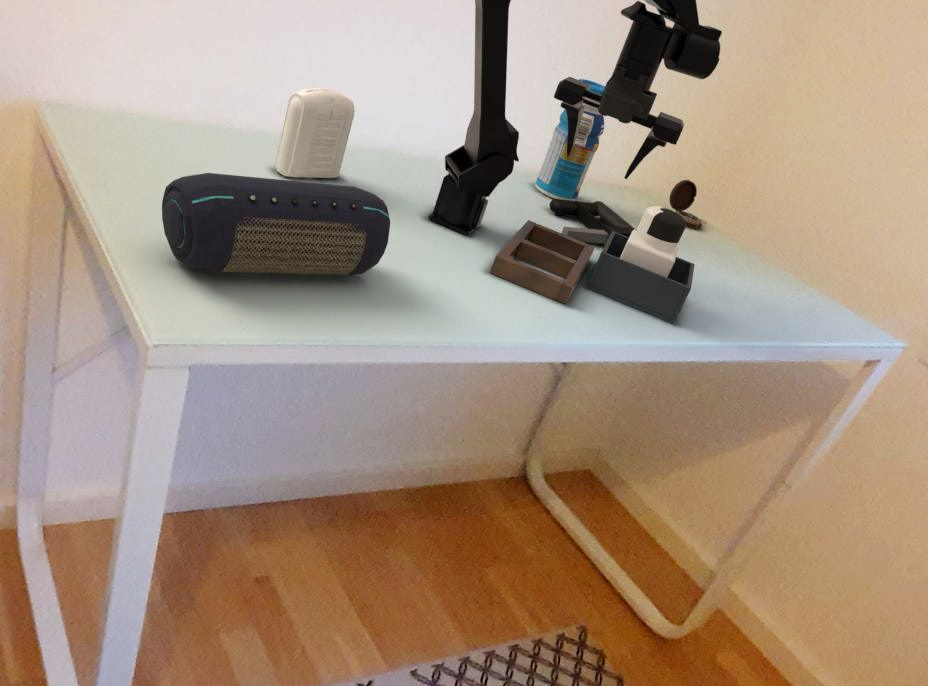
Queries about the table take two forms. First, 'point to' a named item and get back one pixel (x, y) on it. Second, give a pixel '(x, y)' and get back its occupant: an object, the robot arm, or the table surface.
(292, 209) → the portable speaker
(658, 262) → the medicine bottle
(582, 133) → the beverage bottle
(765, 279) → the table surface
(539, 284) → the frame
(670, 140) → the robot arm
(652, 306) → the tote
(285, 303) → the table surface
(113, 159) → the table surface
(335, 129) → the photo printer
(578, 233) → the door handle
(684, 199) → the compass
